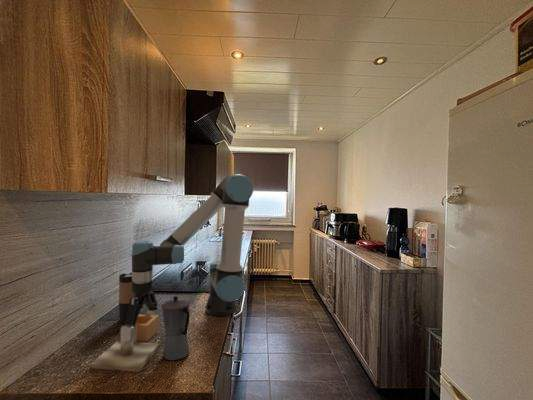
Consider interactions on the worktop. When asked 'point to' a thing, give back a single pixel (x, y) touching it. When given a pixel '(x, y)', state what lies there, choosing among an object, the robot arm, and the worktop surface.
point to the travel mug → (125, 295)
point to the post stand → (126, 353)
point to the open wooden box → (146, 326)
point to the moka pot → (176, 329)
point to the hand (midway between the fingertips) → (142, 334)
